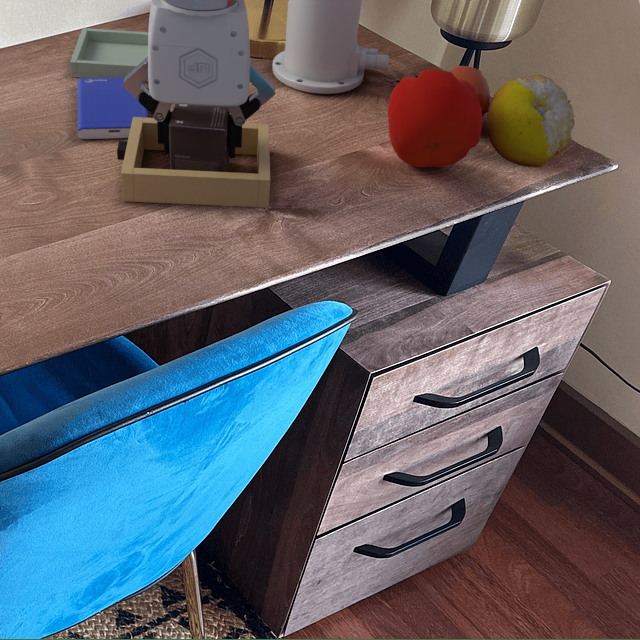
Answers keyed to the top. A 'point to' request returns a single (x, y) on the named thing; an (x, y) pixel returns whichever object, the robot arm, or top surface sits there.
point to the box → (199, 138)
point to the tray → (108, 53)
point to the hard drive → (106, 108)
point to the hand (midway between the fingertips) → (200, 148)
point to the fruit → (530, 120)
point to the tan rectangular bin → (194, 172)
